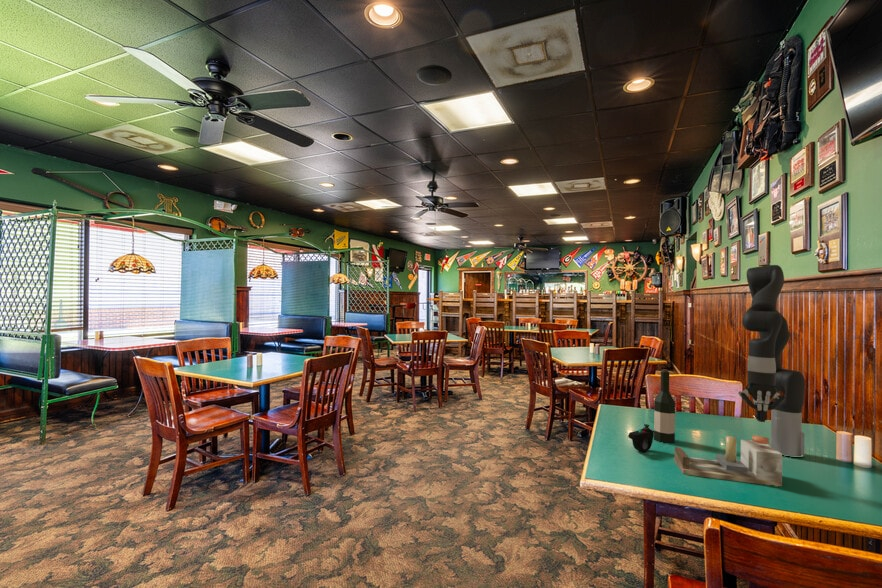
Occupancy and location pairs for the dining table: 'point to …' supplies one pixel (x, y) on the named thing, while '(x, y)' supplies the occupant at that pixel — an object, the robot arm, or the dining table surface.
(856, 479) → the dining table surface
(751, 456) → the rail board
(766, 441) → the button
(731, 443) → the carriage
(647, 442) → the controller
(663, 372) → the wine bottle
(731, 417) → the dining table surface
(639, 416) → the dining table surface
